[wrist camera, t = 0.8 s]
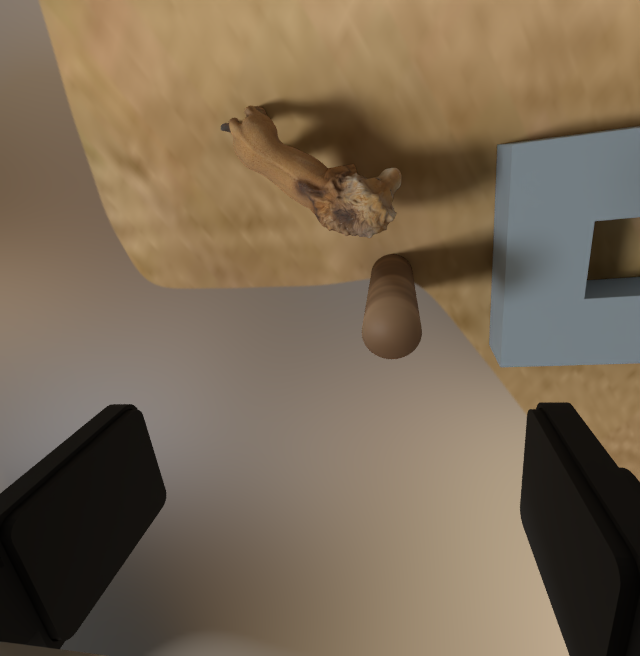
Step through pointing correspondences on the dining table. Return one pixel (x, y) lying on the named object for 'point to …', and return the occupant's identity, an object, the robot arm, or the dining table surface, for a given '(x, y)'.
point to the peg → (391, 309)
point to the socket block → (563, 251)
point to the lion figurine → (316, 178)
